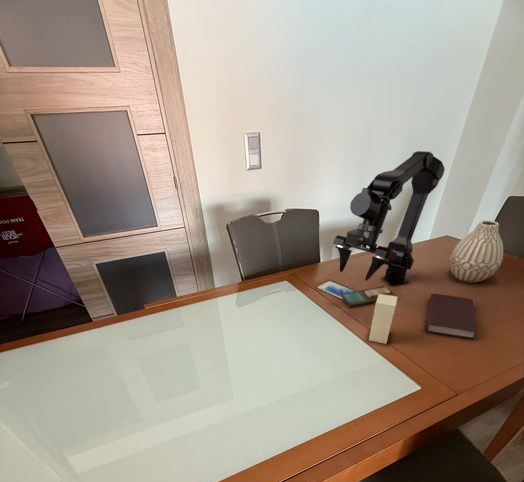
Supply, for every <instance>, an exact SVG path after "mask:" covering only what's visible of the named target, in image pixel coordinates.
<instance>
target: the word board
mask: <svg viewBox="0 0 524 482" xmlns="http://www.w3.org/2000/svg"><path fill="white" fill-rule="evenodd" d="M354 291H355V292H349V293H344V294H340V296H341V297H342V301H344V303H345V304H346V305H347V307H348V308H353V307H359V306H364V305H369V304H376V301H377V298H378V295H379V294H383V295H390V296H395V295H394V294H393V293H392V292H391V291H390V290H389V289H388V288H387V287H385V286H383V285H382V286H377V287H372V288H371V287H370V288H367V289H361V290H354Z"/></svg>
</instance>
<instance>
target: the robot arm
mask: <svg viewBox="0 0 524 482" xmlns="http://www.w3.org/2000/svg"><path fill="white" fill-rule="evenodd" d="M445 168H446V167H445V166H444V164H443V161H442V160H440V159H439V158H437V157H436V156H434V154H433V152H431V151H425V150H424V151H423V150H416V151H414V152H413V153H412V155H411V156H410V157H408V158H407V159H406V160H405V161H403V162H402V163H400V165H398V166H396V167H395V168H394V169H392V170H387V171H382V172H380V173H378V174H377V175H376V176H375V177H374V178H373V179H372V180H371V182H370V183H369V184H368V186H367V187H362V189H361V192H359V193H357V194H356V195H355V196H354V197H353V198H352V200H351V201H350V206H349V210H350V212H351V213H352V214H353V215H354V216H356V217H358V218H360V219H362V223H361V222H360V223H359V224H358V225H357V228H355V229H351V230H348V231H346V236H343V235H339V234H337V235H336V236H335V237H334V238H333V241H332V245H335V249H337V251H338V253H339V254H338V255H339V272H340V273H342V272H344V270H345V268H346V265H347V264H348V261H349V259H350V256H351V254H352V252H353V250H352V249H356V250H360V251H363V252H367V253H370V254H375V256H372V257H371V264H370V265H369V268H368V271H367V273H366V275H365V279H364V280H365V281H369V280H370V278H371V277H372V276H373V275H374V274H376V273H377V271H378V270H379V269H380V268H381V267H383V266H384V265H385V266H387V267H386V270H385V274H384V276H383V277H382V279H383V280H384V281H385V282H387V283H388V284H389V285H390V286H396V285H402V284H406V283H407V282H408V281H407V280H406V275H407V272H408V270H411V269H412V267H413V265H414V262H415V260H414V258H413V250H414V248H413V244H412V238H413V236H414V233H415V231H416V228H417V226H418V223H419V221H420V218H421V215H422V212H423V209H424V207H425V204H426V202H427V199H428V196H429V195H430V194H431V192H433V191H434V190H435V189H436V188H437V187H438V185H439V183H440V181H441V179H442V178H443V176H444V174H445V170H446V169H445ZM409 180H411V187H412V188H411V189H412V194H411V197H410V199H409V201H408V205H407V208H406V210H405V213H404V216H403V219H402V222H401V224H400V228H399V230H398V233H397V235H396V237H395V238H394V239H393V240H392V241H390V242H389V243H388V245H387V247H385V246H381V245H378V244H377V241H378V239H379V236H380V235H381V234H383V232H384V230H383V229H382V228H383V226H384V223H385V220H386V218H387V215H388V213H389V211H392V209H393V207H392V205H391V201H393V200H395V199H396V198H398V196H400V194H401V193H402V192H403V187H404V185H405V184H406V183H407V182H408V181H409ZM351 248H352V249H351Z"/></svg>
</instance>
